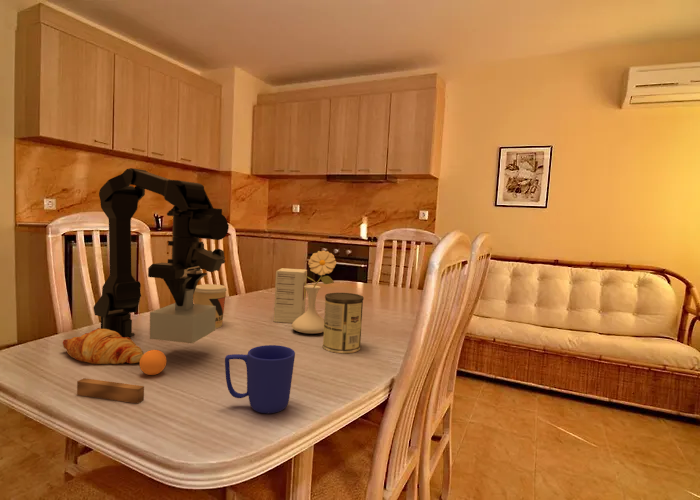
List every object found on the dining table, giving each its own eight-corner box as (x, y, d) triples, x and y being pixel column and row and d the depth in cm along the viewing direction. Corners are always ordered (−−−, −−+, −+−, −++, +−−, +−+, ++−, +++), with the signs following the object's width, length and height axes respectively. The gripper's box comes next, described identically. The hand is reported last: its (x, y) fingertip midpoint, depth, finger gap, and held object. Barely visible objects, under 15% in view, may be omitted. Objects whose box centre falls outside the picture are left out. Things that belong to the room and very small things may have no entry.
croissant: (151, 375, 92) (164, 340, 95) (122, 368, 83) (137, 330, 86) (73, 361, 96) (87, 328, 100) (38, 353, 87) (55, 317, 90)
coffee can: (333, 339, 116) (335, 290, 116) (366, 346, 112) (369, 295, 111) (315, 348, 107) (318, 295, 106) (350, 356, 103) (353, 301, 102)
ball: (146, 343, 85) (151, 363, 87) (131, 358, 81) (136, 379, 83) (169, 345, 85) (173, 365, 87) (155, 361, 80) (159, 381, 82)
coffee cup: (214, 331, 117) (216, 290, 117) (185, 327, 119) (186, 287, 118) (230, 324, 127) (232, 285, 126) (203, 320, 128) (204, 283, 128)
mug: (228, 396, 76) (230, 343, 75) (293, 397, 77) (296, 345, 76) (217, 417, 68) (220, 358, 67) (290, 418, 69) (293, 360, 68)
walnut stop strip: (77, 394, 73) (77, 381, 72) (83, 391, 74) (84, 378, 74) (138, 403, 71) (138, 389, 71) (143, 399, 72) (144, 386, 72)
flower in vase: (283, 332, 120) (288, 248, 119) (302, 324, 131) (306, 247, 129) (323, 340, 115) (328, 252, 114) (339, 331, 126) (344, 250, 124)
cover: (149, 338, 90) (150, 292, 89) (176, 326, 100) (176, 284, 99) (192, 343, 89) (193, 296, 88) (215, 330, 99) (216, 287, 98)
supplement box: (301, 324, 132) (304, 272, 131) (272, 322, 132) (275, 270, 131) (305, 317, 141) (307, 269, 140) (278, 315, 141) (280, 267, 140)
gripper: (197, 240, 82) (194, 316, 83) (237, 238, 101) (234, 300, 102) (147, 237, 84) (145, 311, 85) (195, 235, 102) (193, 296, 103)
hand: (184, 304), depth 94 cm, fingers closed on cover, 3 cm apart
